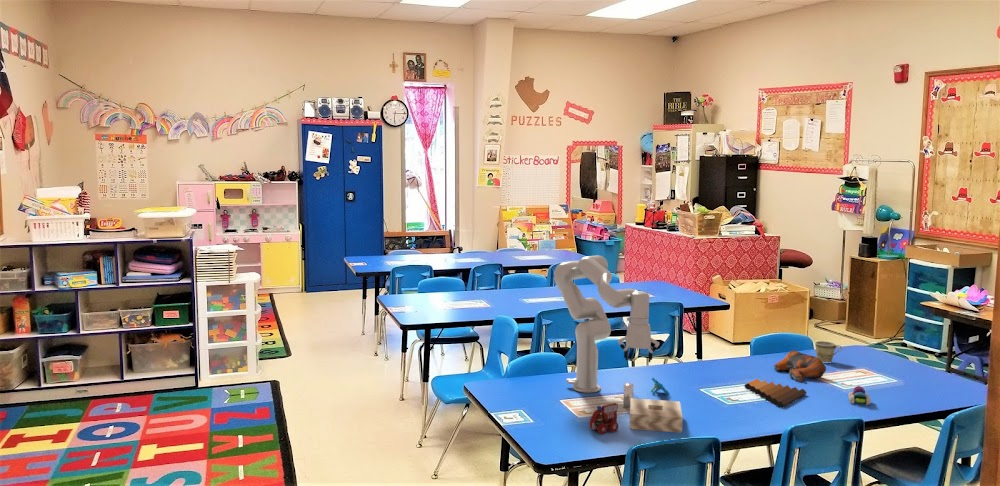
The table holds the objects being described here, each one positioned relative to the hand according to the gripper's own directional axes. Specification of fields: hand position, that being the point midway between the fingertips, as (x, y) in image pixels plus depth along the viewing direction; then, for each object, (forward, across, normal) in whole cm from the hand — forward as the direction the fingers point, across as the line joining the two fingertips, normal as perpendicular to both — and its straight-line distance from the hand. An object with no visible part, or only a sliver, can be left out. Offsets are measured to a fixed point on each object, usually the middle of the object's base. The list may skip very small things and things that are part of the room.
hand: (637, 360), depth 327 cm
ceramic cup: (+20, +92, +101) cm, 138 cm away
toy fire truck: (+20, -10, -34) cm, 40 cm away
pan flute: (+21, +56, +32) cm, 68 cm away
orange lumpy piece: (+20, +73, +72) cm, 104 cm away
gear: (+20, +9, +20) cm, 30 cm away
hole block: (+20, +9, -18) cm, 28 cm away
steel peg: (+20, -3, -3) cm, 20 cm away
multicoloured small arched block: (+20, +94, +33) cm, 102 cm away
